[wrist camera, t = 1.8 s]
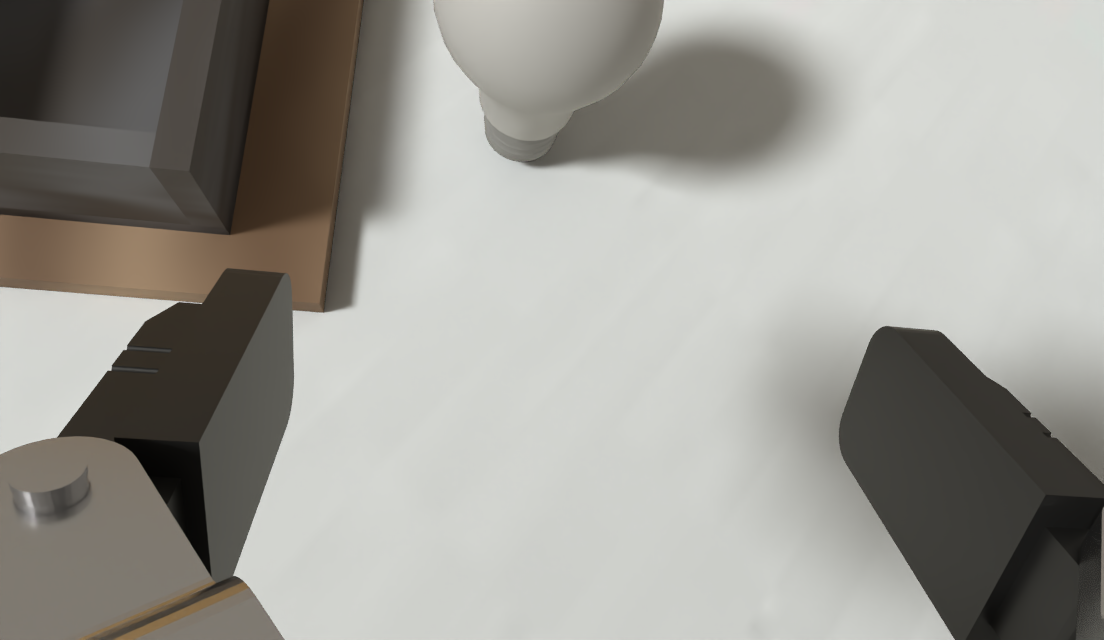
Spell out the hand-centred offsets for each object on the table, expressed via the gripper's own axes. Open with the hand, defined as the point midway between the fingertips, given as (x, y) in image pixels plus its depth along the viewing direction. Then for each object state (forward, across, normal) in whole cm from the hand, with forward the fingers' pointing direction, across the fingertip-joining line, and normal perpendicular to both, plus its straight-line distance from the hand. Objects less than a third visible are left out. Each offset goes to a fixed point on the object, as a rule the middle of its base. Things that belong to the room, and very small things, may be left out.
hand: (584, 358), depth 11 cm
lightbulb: (+19, 0, +3) cm, 19 cm away
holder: (+19, +14, +2) cm, 24 cm away
